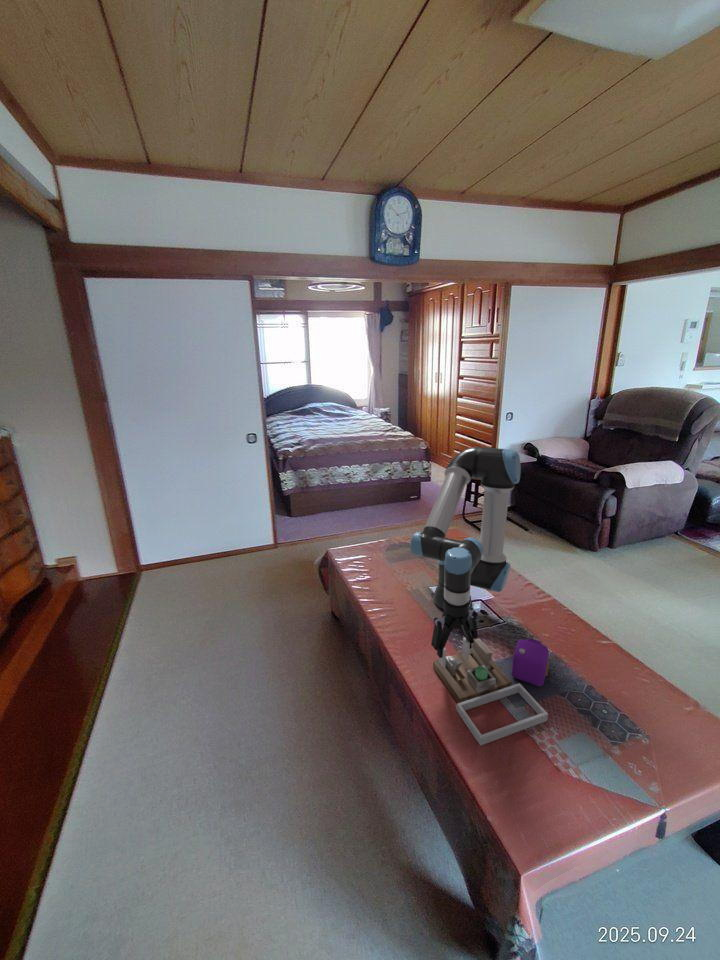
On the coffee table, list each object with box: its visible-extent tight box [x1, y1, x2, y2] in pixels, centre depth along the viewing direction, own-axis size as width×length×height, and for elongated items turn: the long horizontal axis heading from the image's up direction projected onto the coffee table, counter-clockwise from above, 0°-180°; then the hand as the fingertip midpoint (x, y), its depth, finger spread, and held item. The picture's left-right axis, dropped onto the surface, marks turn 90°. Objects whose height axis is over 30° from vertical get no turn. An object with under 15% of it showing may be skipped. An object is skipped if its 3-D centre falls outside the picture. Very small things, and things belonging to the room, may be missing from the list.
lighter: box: [445, 655, 462, 677], centre depth 128 cm, size 7×2×8 cm, turn 18°
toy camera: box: [511, 638, 550, 687], centre depth 129 cm, size 11×14×10 cm
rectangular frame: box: [456, 683, 549, 747], centre depth 114 cm, size 22×12×2 cm, turn 109°
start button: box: [475, 666, 488, 682], centre depth 122 cm, size 4×4×4 cm
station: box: [432, 638, 513, 704], centre depth 127 cm, size 18×16×8 cm
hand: (453, 660), depth 128 cm, fingers open, 8 cm apart
